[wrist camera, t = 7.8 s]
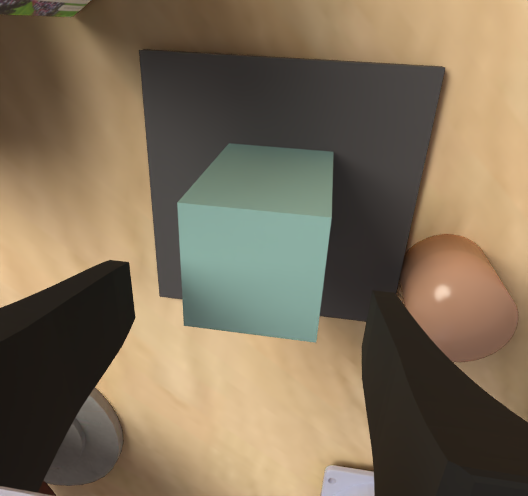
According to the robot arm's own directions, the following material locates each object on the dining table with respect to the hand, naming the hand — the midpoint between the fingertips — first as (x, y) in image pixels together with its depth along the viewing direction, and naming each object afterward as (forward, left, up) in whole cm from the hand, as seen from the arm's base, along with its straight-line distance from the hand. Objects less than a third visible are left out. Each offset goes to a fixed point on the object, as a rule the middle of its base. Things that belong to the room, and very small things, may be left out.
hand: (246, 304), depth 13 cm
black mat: (0, 0, -9) cm, 9 cm away
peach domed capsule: (-3, -8, -9) cm, 12 cm away
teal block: (0, 0, -8) cm, 8 cm away
